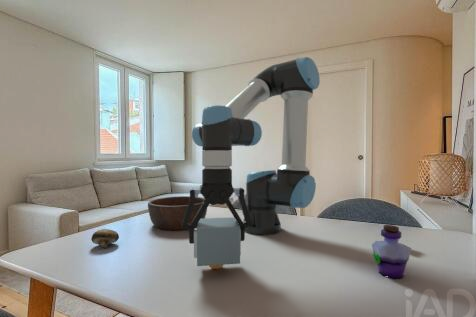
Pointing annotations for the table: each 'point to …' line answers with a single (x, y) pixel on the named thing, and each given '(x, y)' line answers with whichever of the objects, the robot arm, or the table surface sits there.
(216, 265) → the ball
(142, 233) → the table surface
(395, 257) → the potion bottle
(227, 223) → the smooth grey cuboid
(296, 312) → the table surface
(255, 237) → the table surface
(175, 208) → the wooden bowl
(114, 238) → the mushroom
